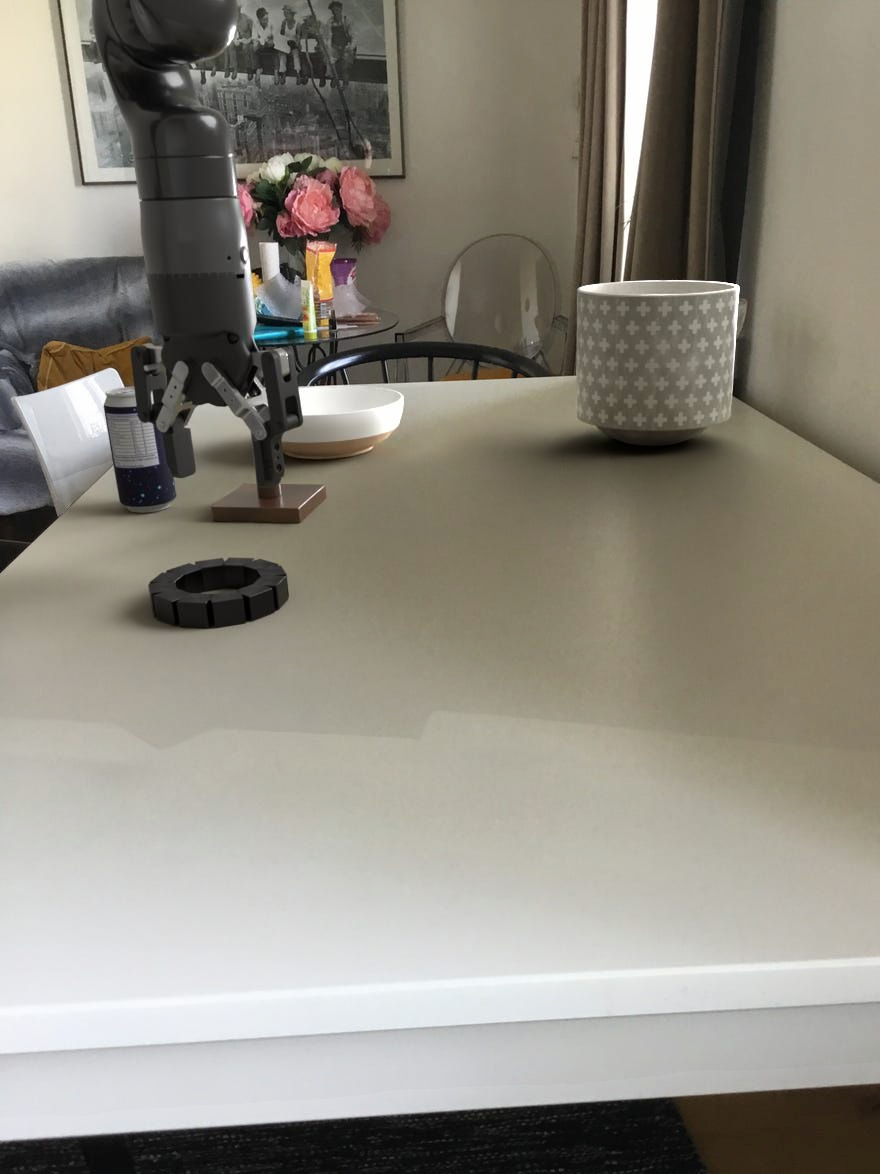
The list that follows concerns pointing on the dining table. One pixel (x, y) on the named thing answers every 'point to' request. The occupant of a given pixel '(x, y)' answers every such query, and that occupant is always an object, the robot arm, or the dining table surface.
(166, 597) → the ring
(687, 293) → the planter
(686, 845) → the dining table surface
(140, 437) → the beverage can
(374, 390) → the bowl
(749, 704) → the dining table surface
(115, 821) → the dining table surface
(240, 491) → the stand
